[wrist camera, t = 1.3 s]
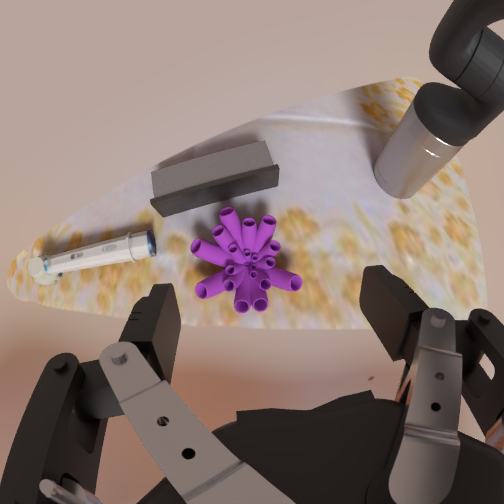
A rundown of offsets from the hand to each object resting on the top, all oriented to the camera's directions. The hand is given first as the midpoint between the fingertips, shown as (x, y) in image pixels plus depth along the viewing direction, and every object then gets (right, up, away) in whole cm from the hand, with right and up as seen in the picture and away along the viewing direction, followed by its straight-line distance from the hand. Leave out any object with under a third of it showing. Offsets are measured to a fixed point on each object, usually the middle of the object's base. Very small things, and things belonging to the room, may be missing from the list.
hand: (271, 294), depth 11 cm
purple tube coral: (-2, 0, +31) cm, 31 cm away
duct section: (-7, +13, +34) cm, 37 cm away
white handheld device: (-28, 0, +32) cm, 42 cm away
